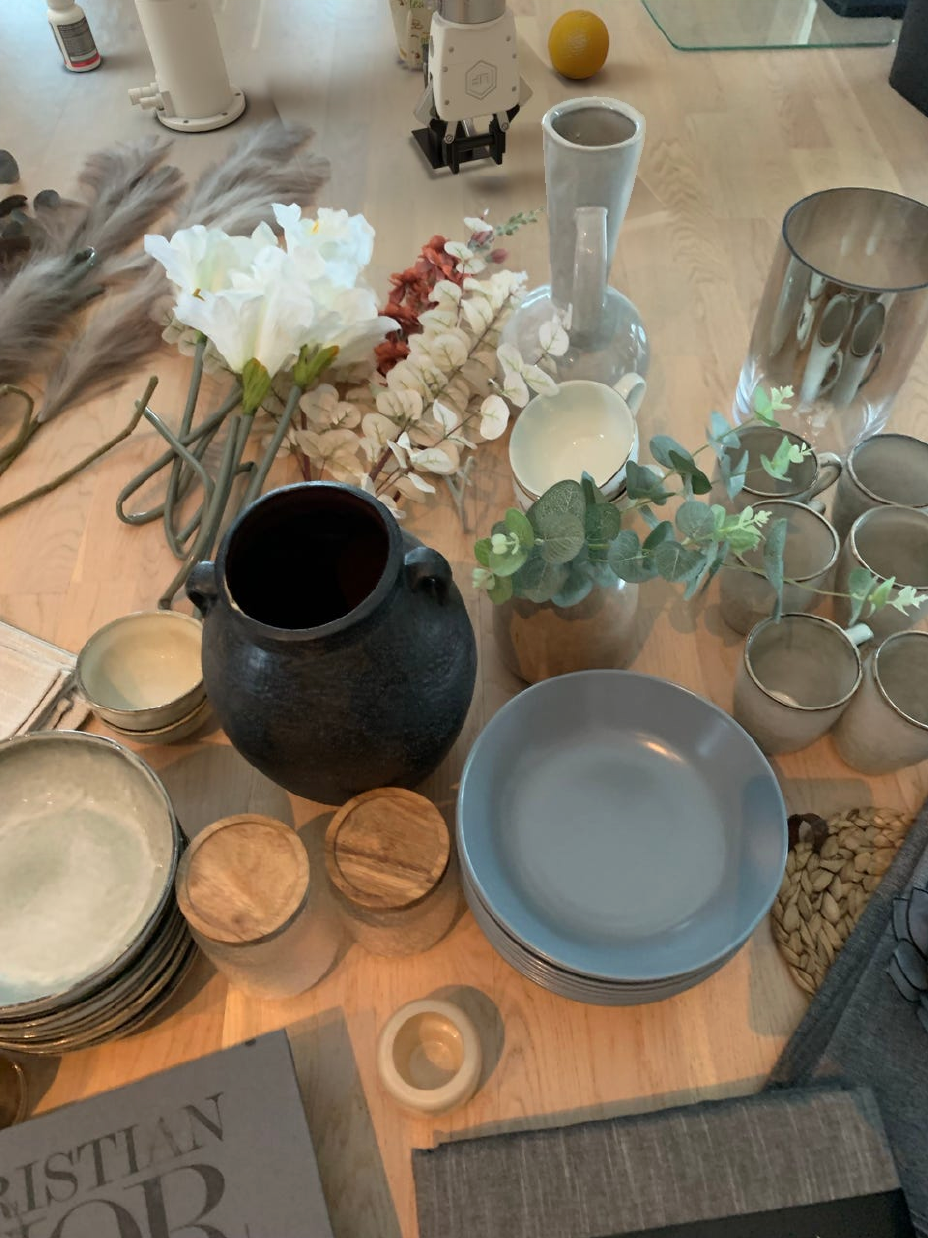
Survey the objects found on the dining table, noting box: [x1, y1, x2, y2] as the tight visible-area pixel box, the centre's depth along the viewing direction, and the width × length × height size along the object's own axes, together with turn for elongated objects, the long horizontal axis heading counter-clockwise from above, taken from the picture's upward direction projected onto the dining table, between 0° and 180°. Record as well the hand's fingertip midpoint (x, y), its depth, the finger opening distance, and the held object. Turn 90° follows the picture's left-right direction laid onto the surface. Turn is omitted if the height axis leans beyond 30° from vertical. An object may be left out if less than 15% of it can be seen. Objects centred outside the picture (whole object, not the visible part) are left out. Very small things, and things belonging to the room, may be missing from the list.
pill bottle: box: [45, 0, 101, 73], centre depth 129 cm, size 5×5×10 cm
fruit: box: [547, 9, 610, 80], centre depth 124 cm, size 9×8×8 cm
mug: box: [388, 0, 437, 68], centre depth 125 cm, size 8×13×10 cm, turn 174°
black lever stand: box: [410, 43, 492, 170], centre depth 111 cm, size 10×8×13 cm
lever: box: [456, 118, 495, 152], centre depth 107 cm, size 13×5×2 cm, turn 19°
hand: (474, 162), depth 108 cm, fingers closed on lever, 5 cm apart
